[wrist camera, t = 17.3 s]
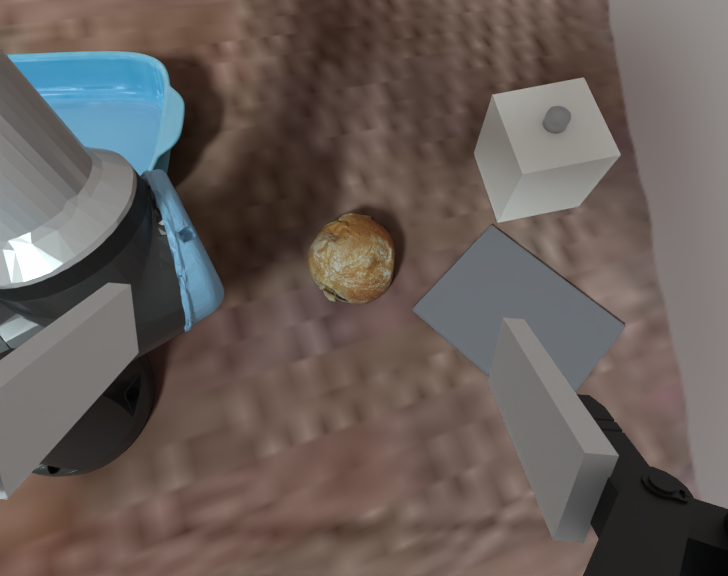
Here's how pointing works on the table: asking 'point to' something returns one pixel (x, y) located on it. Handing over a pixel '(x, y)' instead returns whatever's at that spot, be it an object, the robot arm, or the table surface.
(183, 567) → the table surface
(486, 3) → the table surface
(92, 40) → the table surface
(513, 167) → the box cover
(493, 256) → the rubber mat
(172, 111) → the casserole dish
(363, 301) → the bread roll
